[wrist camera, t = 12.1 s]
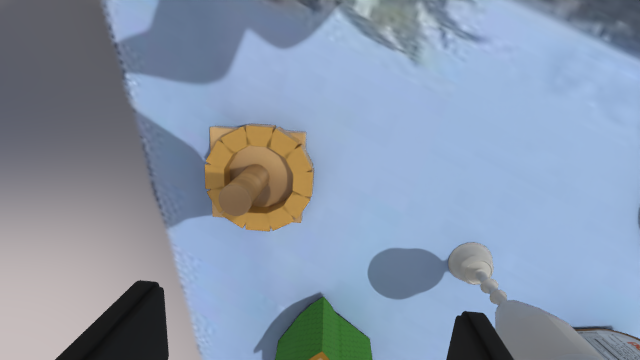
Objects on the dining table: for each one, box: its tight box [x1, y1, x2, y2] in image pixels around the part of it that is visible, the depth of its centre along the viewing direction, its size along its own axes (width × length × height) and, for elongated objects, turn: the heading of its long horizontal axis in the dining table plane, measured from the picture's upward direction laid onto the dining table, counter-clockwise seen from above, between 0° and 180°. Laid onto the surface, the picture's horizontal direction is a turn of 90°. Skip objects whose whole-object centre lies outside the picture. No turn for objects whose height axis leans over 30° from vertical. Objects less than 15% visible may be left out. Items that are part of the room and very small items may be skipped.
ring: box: [205, 124, 314, 231], centre depth 34 cm, size 11×11×2 cm
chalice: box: [448, 242, 605, 360], centre depth 29 cm, size 7×7×18 cm
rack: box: [210, 126, 306, 223], centre depth 32 cm, size 10×10×10 cm
